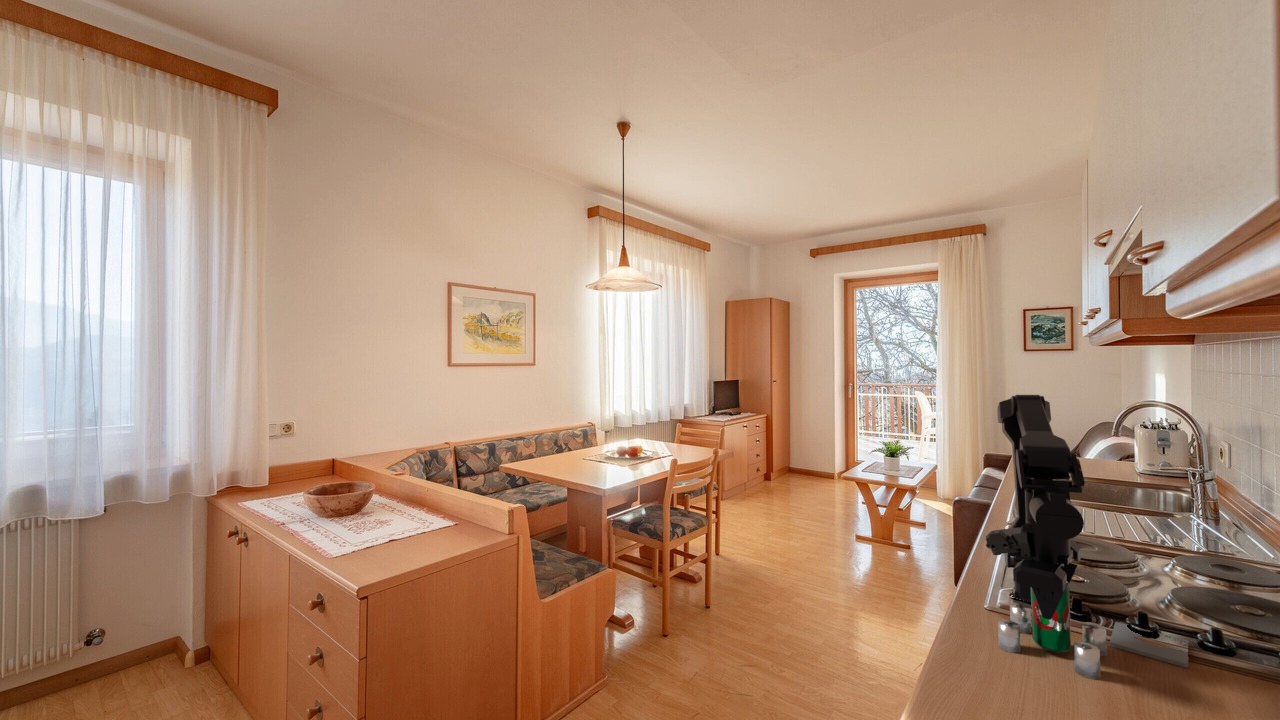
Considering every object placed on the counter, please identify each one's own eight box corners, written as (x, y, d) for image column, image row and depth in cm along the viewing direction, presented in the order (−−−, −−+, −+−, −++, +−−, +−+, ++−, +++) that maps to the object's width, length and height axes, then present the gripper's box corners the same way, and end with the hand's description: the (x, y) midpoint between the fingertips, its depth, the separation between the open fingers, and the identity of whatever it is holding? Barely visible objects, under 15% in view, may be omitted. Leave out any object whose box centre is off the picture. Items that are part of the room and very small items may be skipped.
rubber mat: (1115, 625, 92) (1115, 621, 92) (1188, 644, 86) (1188, 640, 86) (1109, 645, 86) (1109, 642, 86) (1188, 668, 80) (1187, 664, 80)
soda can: (1056, 637, 88) (1054, 567, 88) (1079, 654, 83) (1076, 580, 83) (1025, 636, 89) (1023, 567, 89) (1045, 654, 84) (1043, 580, 84)
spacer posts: (1012, 622, 94) (1011, 600, 94) (1108, 650, 85) (1107, 626, 85) (996, 647, 87) (995, 623, 87) (1099, 681, 77) (1098, 654, 77)
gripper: (1003, 498, 98) (1006, 579, 98) (974, 523, 85) (977, 616, 86) (1080, 509, 90) (1083, 598, 90) (1060, 539, 77) (1063, 642, 77)
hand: (1050, 612), depth 86 cm, fingers closed on soda can, 5 cm apart
